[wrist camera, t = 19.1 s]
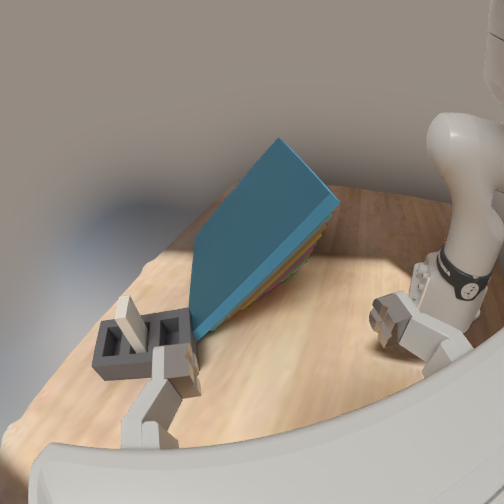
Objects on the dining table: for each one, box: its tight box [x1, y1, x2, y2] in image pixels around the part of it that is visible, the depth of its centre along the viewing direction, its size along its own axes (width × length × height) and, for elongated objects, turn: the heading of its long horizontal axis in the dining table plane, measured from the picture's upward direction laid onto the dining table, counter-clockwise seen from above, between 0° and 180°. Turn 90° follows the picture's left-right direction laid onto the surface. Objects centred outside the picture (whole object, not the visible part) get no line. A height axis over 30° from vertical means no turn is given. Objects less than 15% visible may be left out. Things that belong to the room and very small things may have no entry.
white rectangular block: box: [114, 295, 149, 353], centre depth 43 cm, size 5×2×12 cm, turn 11°
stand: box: [92, 308, 199, 381], centre depth 46 cm, size 11×19×5 cm, turn 101°
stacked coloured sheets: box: [189, 138, 340, 341], centre depth 60 cm, size 35×18×35 cm
